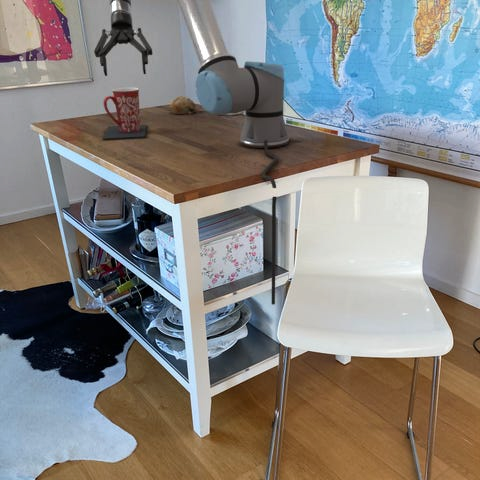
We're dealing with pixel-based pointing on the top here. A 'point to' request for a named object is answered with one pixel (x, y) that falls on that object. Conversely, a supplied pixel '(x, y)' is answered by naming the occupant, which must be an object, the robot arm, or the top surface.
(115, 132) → the mat
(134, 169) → the top surface
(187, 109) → the bread roll
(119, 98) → the mug
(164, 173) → the top surface
